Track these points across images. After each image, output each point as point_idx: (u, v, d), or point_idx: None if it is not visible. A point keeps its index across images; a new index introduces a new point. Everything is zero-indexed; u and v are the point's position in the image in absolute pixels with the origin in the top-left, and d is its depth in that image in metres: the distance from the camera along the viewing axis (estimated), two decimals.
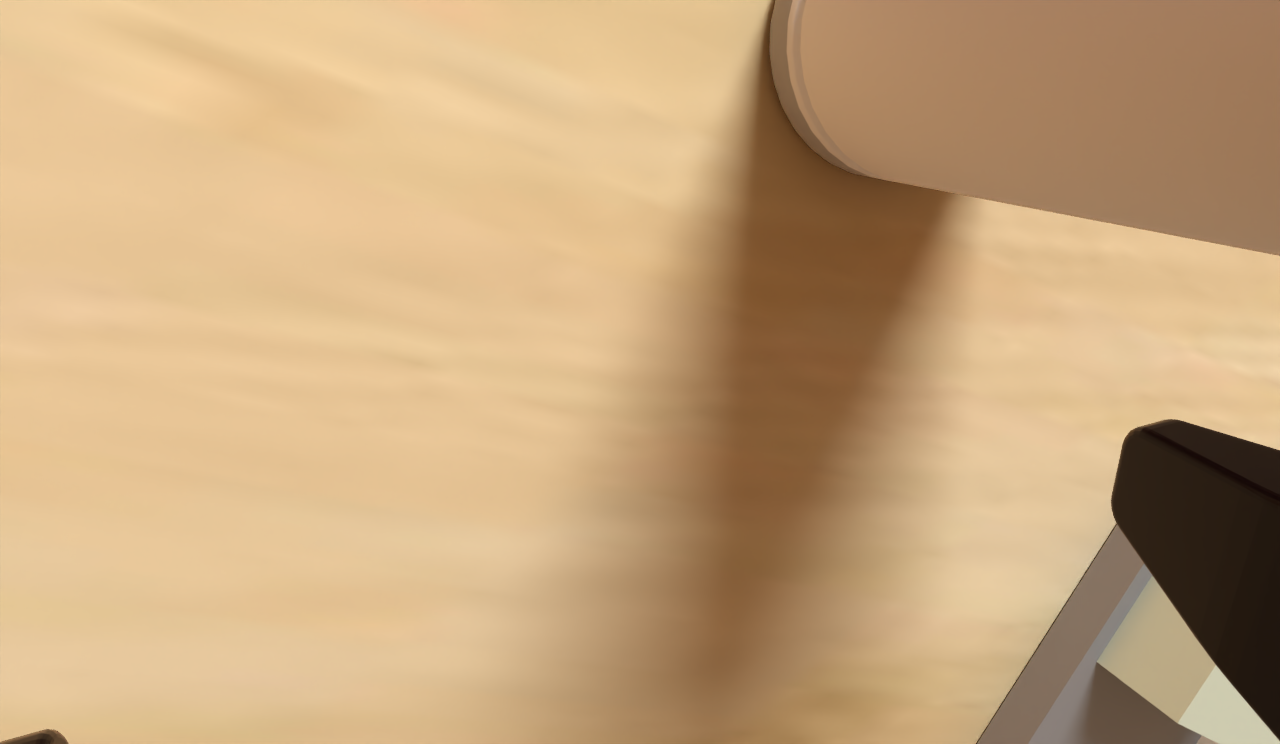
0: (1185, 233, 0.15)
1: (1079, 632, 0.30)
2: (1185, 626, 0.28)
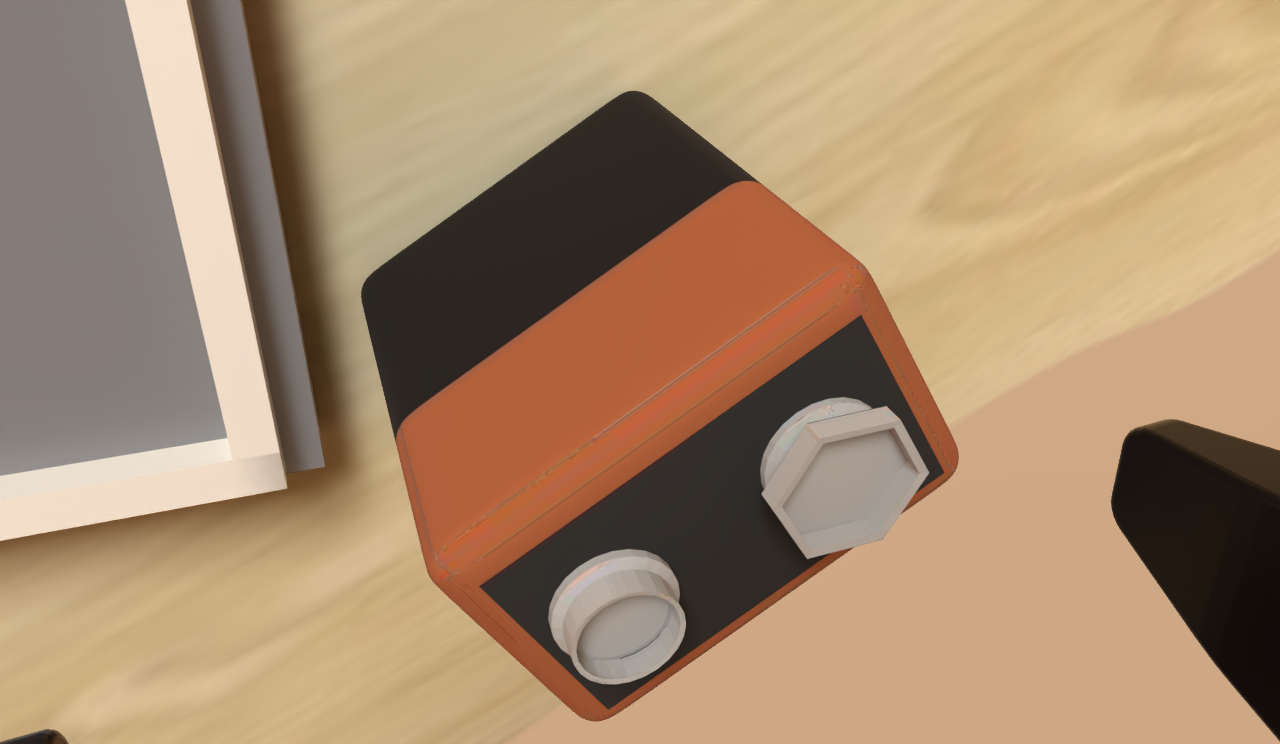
0: None
1: None
2: None
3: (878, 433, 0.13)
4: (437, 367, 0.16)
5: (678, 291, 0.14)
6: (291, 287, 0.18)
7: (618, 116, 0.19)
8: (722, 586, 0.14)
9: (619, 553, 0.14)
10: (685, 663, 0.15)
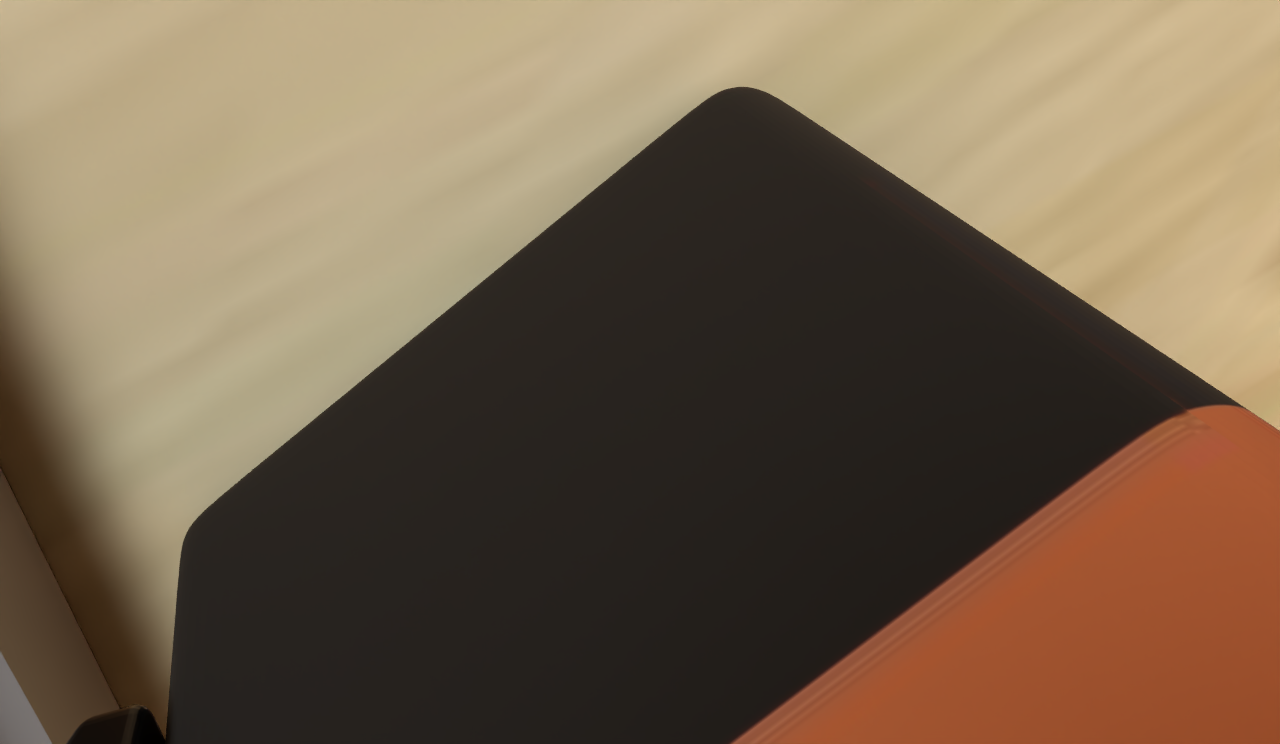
0: None
1: None
2: None
3: None
4: None
5: None
6: None
7: (710, 153, 0.08)
8: None
9: None
10: None
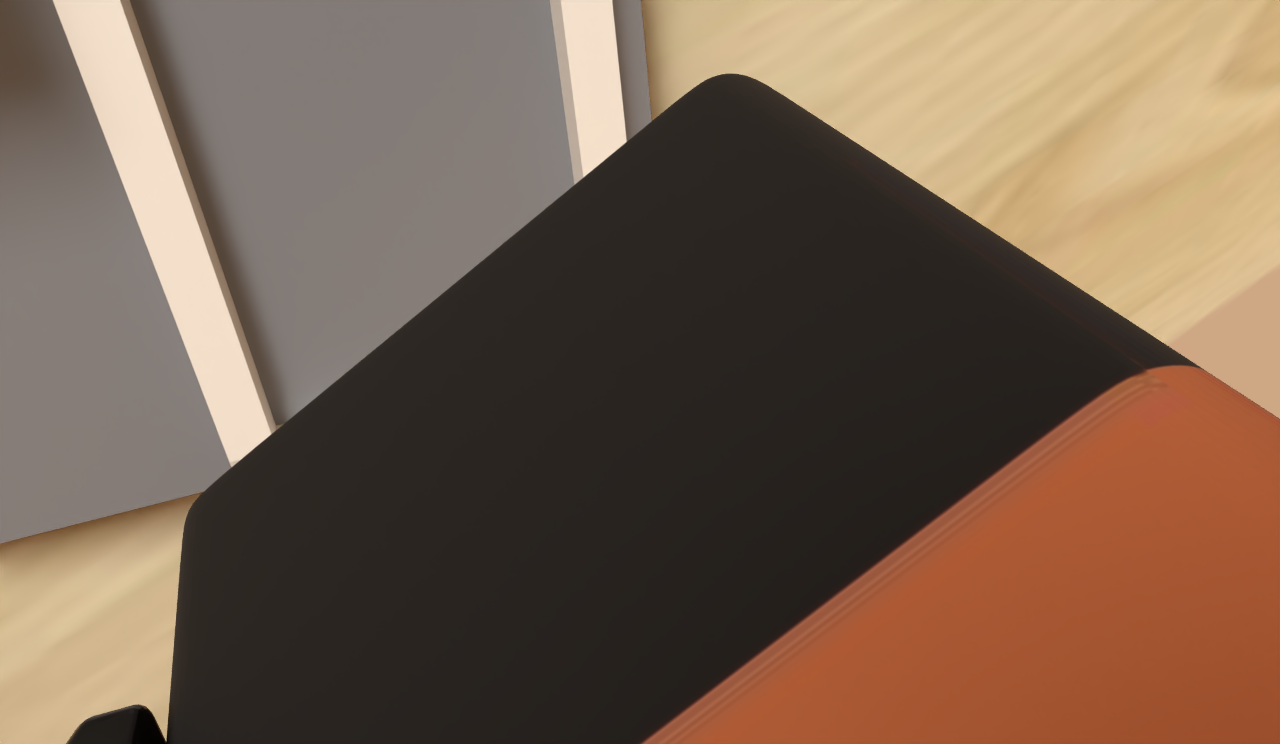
0: None
1: None
2: None
3: None
4: None
5: None
6: None
7: (699, 137, 0.08)
8: None
9: None
10: None
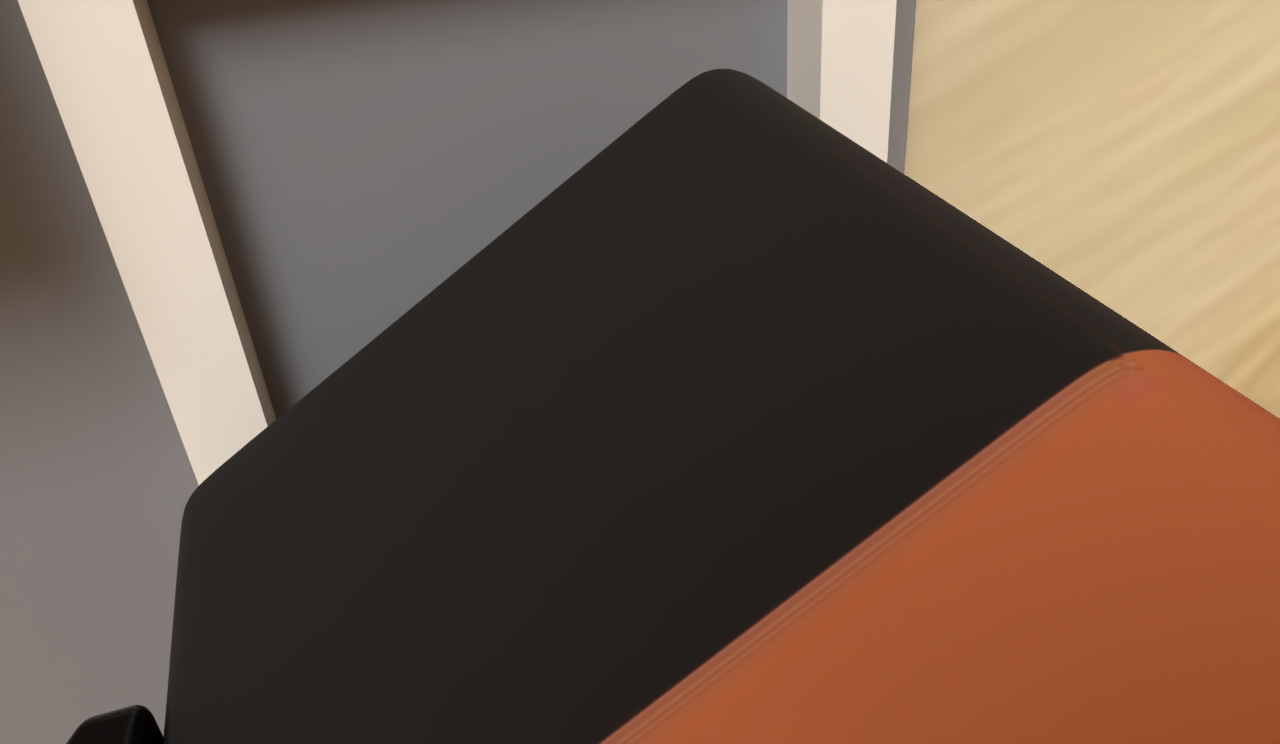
0: None
1: None
2: None
3: None
4: None
5: None
6: None
7: (690, 130, 0.09)
8: None
9: None
10: None
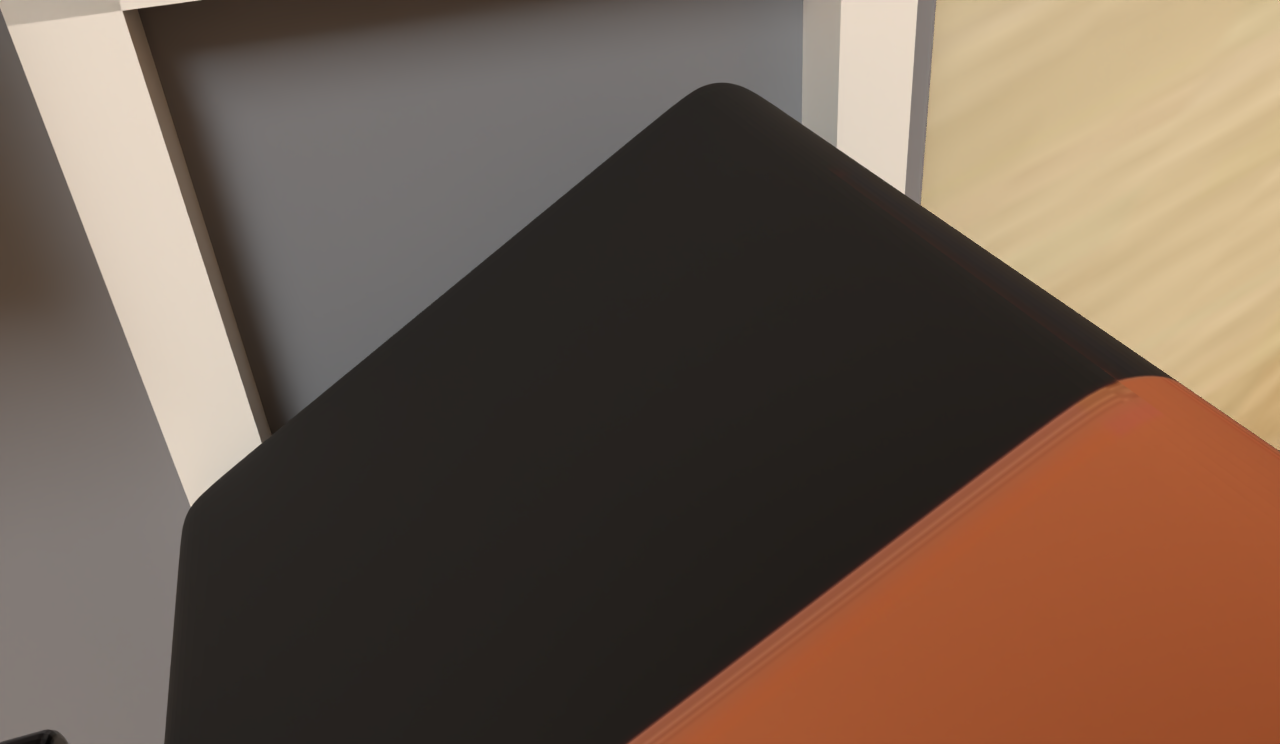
0: None
1: None
2: None
3: None
4: None
5: None
6: None
7: (689, 145, 0.09)
8: None
9: None
10: None
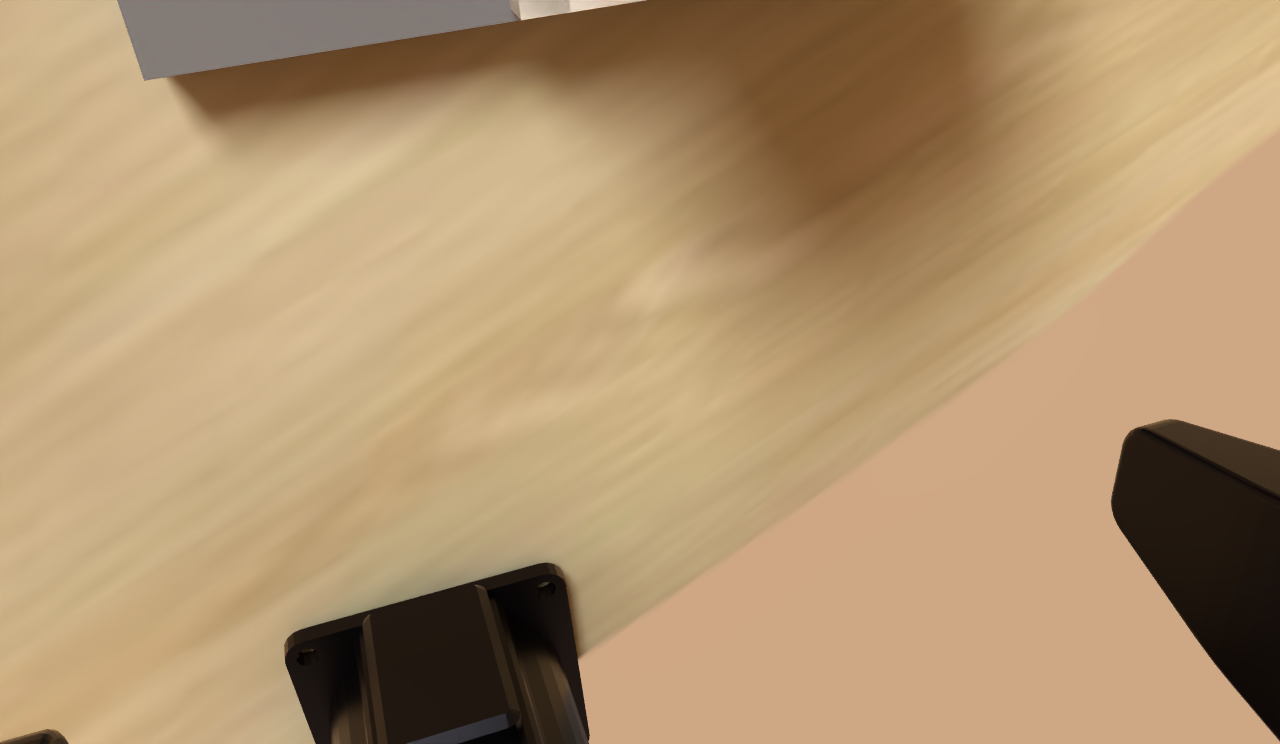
0: None
1: None
2: None
3: None
4: None
5: None
6: None
7: None
8: None
9: None
10: None
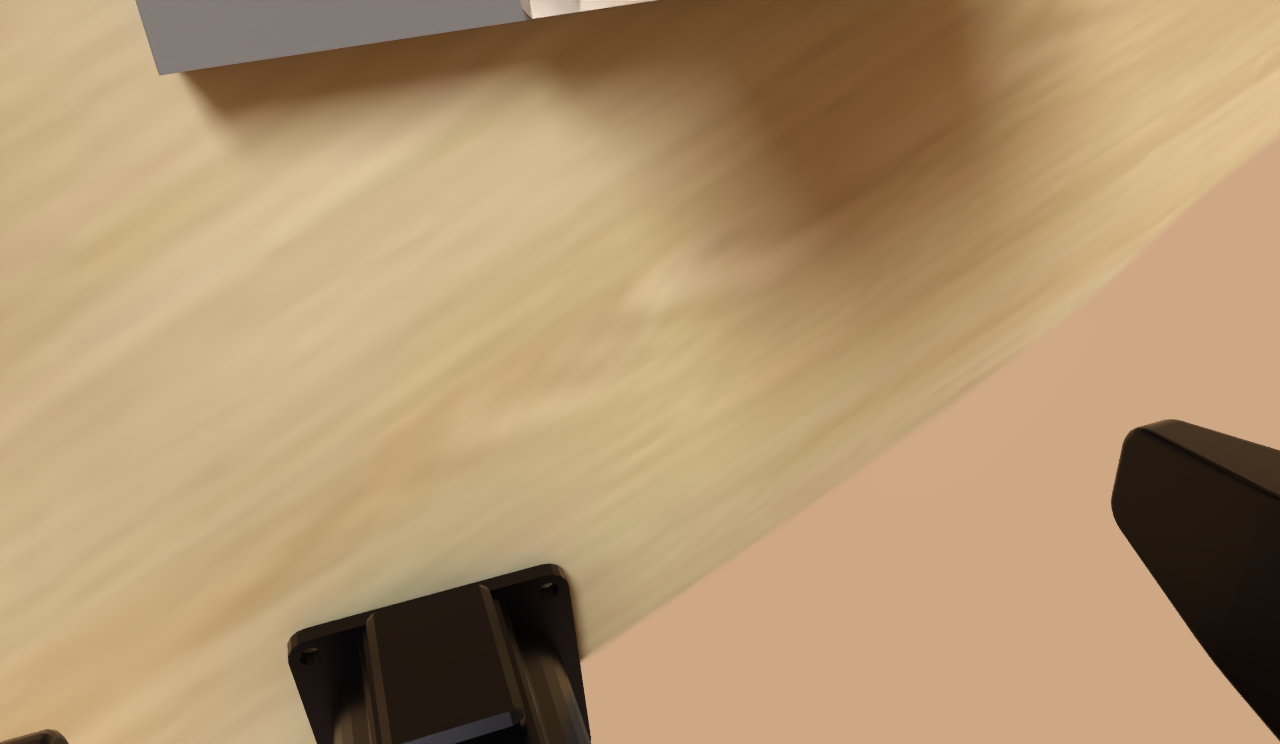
0: None
1: None
2: None
3: None
4: None
5: None
6: None
7: None
8: None
9: None
10: None
